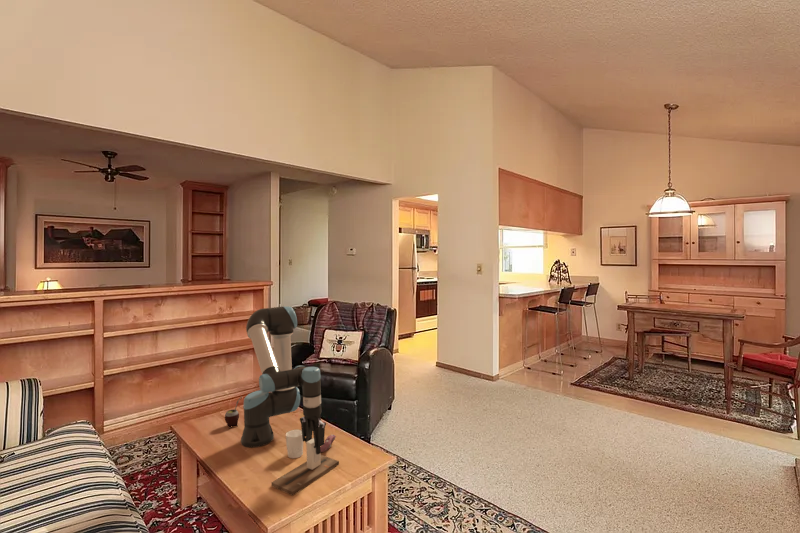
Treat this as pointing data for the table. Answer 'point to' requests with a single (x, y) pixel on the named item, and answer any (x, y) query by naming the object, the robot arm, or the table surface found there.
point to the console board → (303, 476)
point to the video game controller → (327, 443)
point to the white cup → (294, 443)
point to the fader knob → (311, 455)
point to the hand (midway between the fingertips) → (313, 459)
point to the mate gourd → (232, 416)
